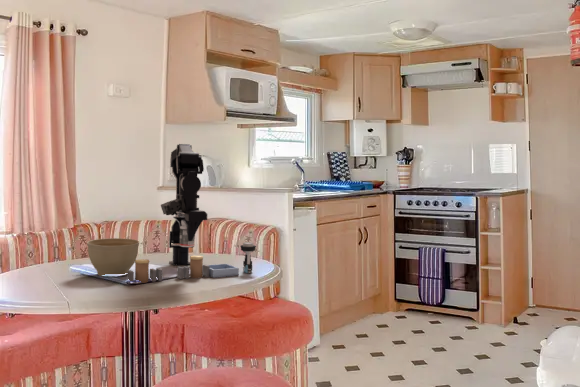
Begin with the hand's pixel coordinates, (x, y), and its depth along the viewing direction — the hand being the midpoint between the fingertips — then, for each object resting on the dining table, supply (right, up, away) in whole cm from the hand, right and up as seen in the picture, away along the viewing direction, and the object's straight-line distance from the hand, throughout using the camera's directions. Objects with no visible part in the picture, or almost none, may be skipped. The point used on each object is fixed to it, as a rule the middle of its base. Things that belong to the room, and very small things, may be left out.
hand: (187, 239), depth 185 cm
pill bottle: (0, -2, 0) cm, 2 cm away
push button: (+19, -12, +12) cm, 25 cm away
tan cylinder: (+3, -12, +2) cm, 13 cm away
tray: (+10, -12, +8) cm, 17 cm away
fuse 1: (-13, -12, -8) cm, 19 cm away
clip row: (-5, -12, -3) cm, 14 cm away
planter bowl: (-24, -12, +1) cm, 27 cm away
